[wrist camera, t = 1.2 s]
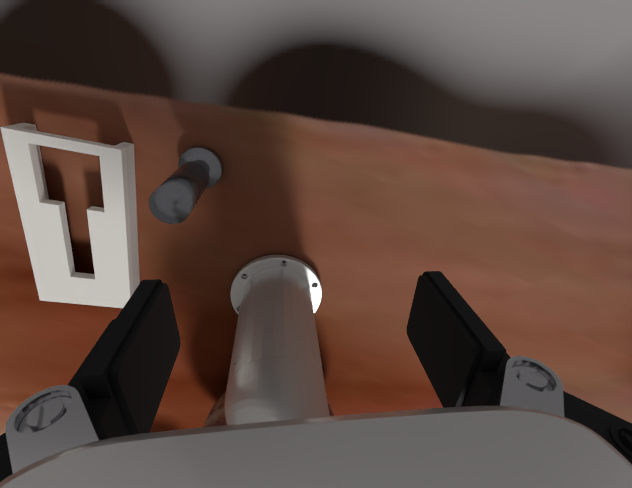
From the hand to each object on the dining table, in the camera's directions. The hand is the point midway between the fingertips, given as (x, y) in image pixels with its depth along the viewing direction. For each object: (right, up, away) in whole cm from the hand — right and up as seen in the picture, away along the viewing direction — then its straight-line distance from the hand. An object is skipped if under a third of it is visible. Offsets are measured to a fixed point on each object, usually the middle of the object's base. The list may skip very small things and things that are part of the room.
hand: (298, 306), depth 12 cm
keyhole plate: (-26, +5, +24) cm, 36 cm away
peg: (-12, +11, +23) cm, 28 cm away
